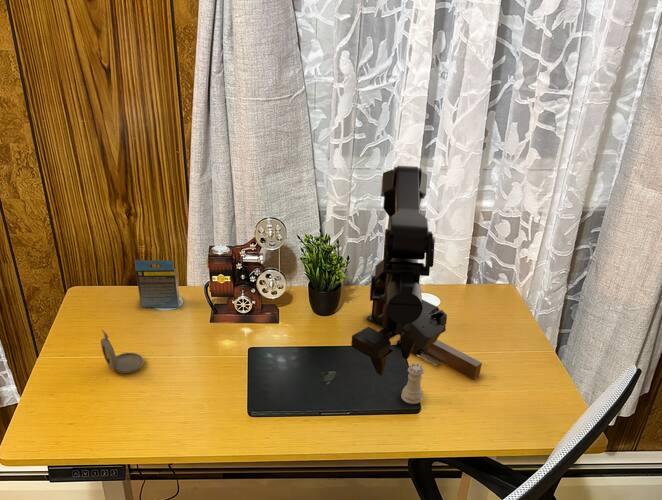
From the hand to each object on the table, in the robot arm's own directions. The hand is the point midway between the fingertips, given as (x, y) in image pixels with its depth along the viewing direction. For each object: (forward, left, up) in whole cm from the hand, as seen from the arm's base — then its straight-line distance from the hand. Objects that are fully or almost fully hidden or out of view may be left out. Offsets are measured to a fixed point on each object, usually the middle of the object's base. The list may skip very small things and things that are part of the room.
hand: (392, 366), depth 141 cm
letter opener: (-9, +21, -12) cm, 26 cm away
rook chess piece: (0, +8, -12) cm, 15 cm away
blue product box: (-64, -8, -12) cm, 66 cm away
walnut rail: (-5, +23, -12) cm, 27 cm away
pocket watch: (-49, -29, -12) cm, 58 cm away
